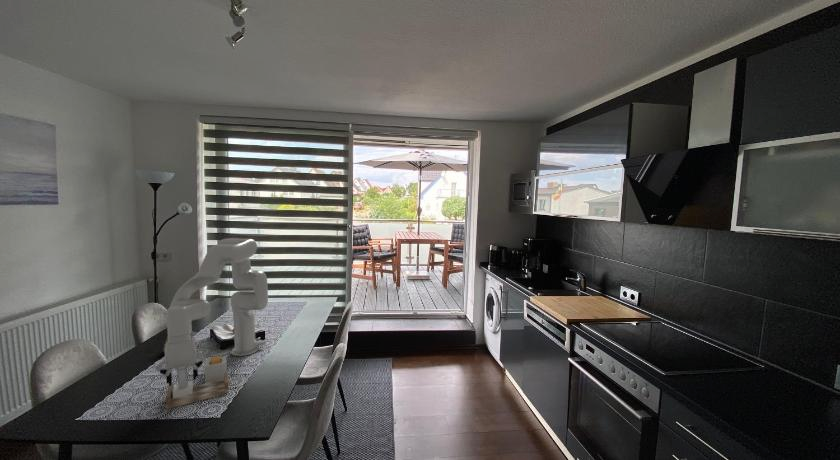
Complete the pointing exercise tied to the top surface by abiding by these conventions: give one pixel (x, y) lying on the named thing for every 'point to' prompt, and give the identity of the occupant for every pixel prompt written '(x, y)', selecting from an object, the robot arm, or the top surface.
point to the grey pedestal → (182, 383)
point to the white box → (215, 370)
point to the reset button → (215, 360)
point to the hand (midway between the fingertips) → (182, 381)
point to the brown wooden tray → (198, 393)
